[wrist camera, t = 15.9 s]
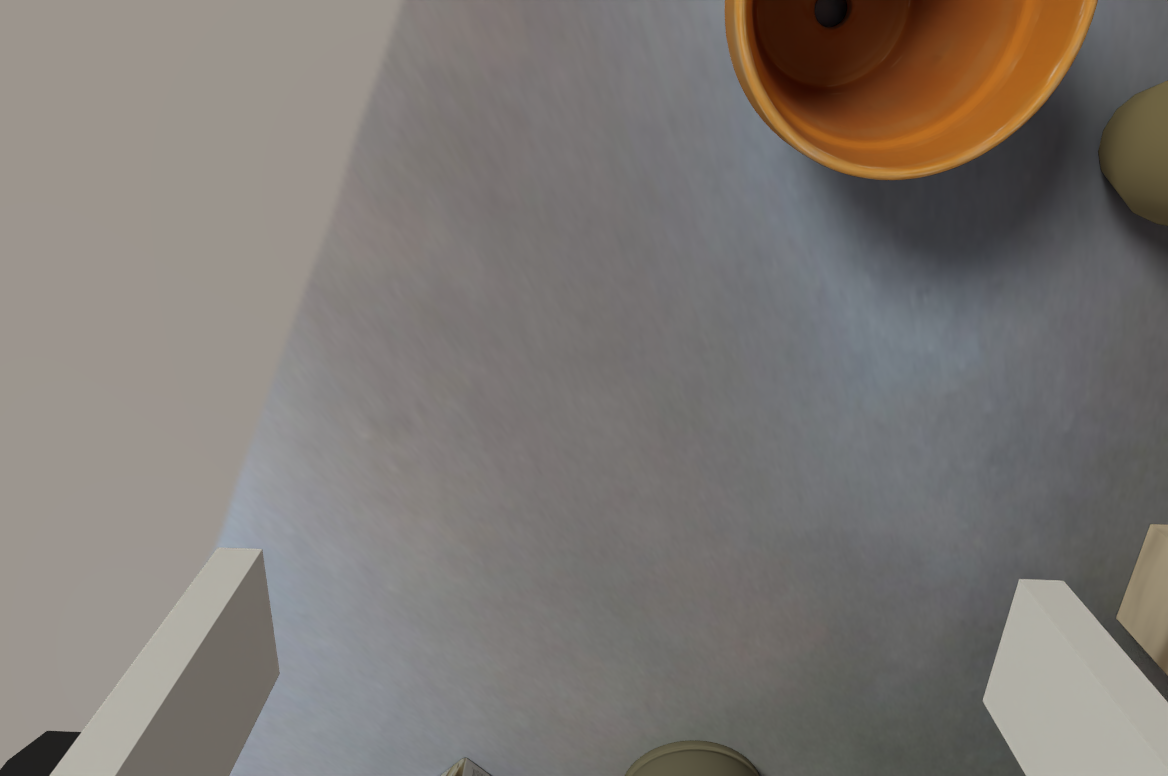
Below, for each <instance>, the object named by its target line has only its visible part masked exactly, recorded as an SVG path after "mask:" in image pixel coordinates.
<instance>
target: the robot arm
mask: <svg viewBox="0 0 1168 776" xmlns="http://www.w3.org/2000/svg"><path fill="white" fill-rule="evenodd" d="M279 674H280V672H279V665H278V658H277V651H276V644H275V637H274V630H273V623H272V615H271V608H270V601H269V594H268V587H267V580H266V573H265V566H264V559H263V552H262V549H242V548H217V549H216V551H215V552H214V553H213V555H212V556H211V558H210V559H209V560H208V562H207V563H206V564H205V566H204V567H203V568H202V570H201V571H200V572H199V574H198V575H197V576H196V578H195V579H194V581H193V582H192V583H191V585H190V586H189V587H188V589H187V590H186V591H185V593H184V594H183V595H182V597H181V598H180V600H179V601H178V603H177V604H176V605H175V606H174V608H173V609H172V610H171V612H170V613H169V614H168V616H167V617H166V618H165V620H164V621H163V623H162V624H161V625H160V627H159V628H158V629H157V631H156V632H155V633H154V635H153V636H152V637H151V639H150V640H149V641H148V643H147V644H146V646H145V647H144V648H143V650H142V651H141V652H140V654H139V655H138V657H137V658H136V659H135V660H134V662H133V663H132V665H131V666H130V667H129V669H128V670H127V671H126V673H125V674H124V676H123V677H122V678H121V679H120V681H119V682H118V683H117V685H116V686H115V688H114V689H113V690H112V692H111V693H110V694H109V696H108V697H107V698H106V700H105V701H104V703H103V704H102V705H101V707H100V708H99V709H98V711H97V712H96V713H95V715H94V716H93V717H92V719H91V720H90V721H89V723H88V724H87V726H86V727H85V728H84V730H83V731H82V732H62V731H46V732H45V733H44V734H42V735H41V736H40V737H38V738H37V739H36V740H34V741H33V742H32V743H30V744H29V745H28V746H26V747H25V748H24V749H22V750H21V751H20V752H18V753H17V754H16V755H14V756H13V757H12V758H10V759H9V760H8V761H7V762H6V763H5V765H4V766H3V767H2V768H1V770H0V776H229V775H230V773H231V771H232V769H233V767H234V765H235V763H236V761H237V759H238V757H239V755H240V753H241V751H242V749H243V746H244V744H245V742H246V740H247V738H248V736H249V734H250V732H251V730H252V728H253V726H254V724H255V722H256V720H257V718H258V716H259V714H260V712H261V710H262V708H263V706H264V704H265V702H266V700H267V698H268V696H269V694H270V692H271V690H272V688H273V686H274V684H275V682H276V680H277V678H278V676H279ZM983 702H984V704H985V706H986V708H987V709H988V711H989V713H990V714H991V716H992V718H993V720H994V721H995V723H996V725H997V726H998V728H999V730H1000V732H1001V733H1002V735H1003V737H1004V738H1005V740H1006V742H1007V744H1008V745H1009V747H1010V749H1011V751H1012V752H1013V754H1014V756H1015V757H1016V759H1017V761H1018V763H1019V764H1020V766H1021V768H1022V769H1023V771H1024V773H1025V775H1026V776H1168V702H1167V701H1166V700H1165V699H1164V697H1163V696H1162V695H1161V694H1160V693H1159V692H1158V690H1157V689H1156V688H1155V687H1154V686H1153V685H1152V683H1151V682H1150V681H1149V680H1148V679H1147V678H1146V676H1145V675H1144V674H1143V673H1142V672H1141V671H1140V669H1139V668H1138V667H1137V666H1136V665H1135V664H1134V662H1133V661H1132V660H1131V659H1130V658H1129V657H1128V655H1127V654H1126V653H1125V652H1124V651H1123V650H1122V649H1121V647H1120V646H1119V645H1118V644H1117V643H1116V642H1115V640H1114V639H1113V638H1112V637H1111V636H1110V635H1109V633H1108V632H1107V631H1106V630H1105V629H1104V628H1103V626H1102V625H1101V624H1100V623H1099V622H1098V621H1097V619H1096V618H1095V617H1094V616H1093V615H1092V614H1091V612H1090V611H1089V610H1088V609H1087V608H1086V607H1085V605H1084V604H1083V603H1082V602H1081V601H1080V600H1079V598H1078V597H1077V596H1076V595H1075V594H1074V593H1073V591H1072V590H1071V589H1070V588H1069V587H1068V586H1067V584H1066V583H1065V582H1064V581H1055V580H1030V579H1019V582H1018V585H1017V589H1016V592H1015V595H1014V598H1013V602H1012V605H1011V608H1010V612H1009V615H1008V618H1007V622H1006V625H1005V628H1004V632H1003V635H1002V638H1001V641H1000V645H999V648H998V651H997V655H996V658H995V661H994V665H993V668H992V671H991V675H990V678H989V681H988V685H987V688H986V691H985V694H984V698H983Z"/></svg>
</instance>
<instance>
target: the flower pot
mask: <svg viewBox="0 0 1168 776" xmlns="http://www.w3.org/2000/svg"><path fill="white" fill-rule="evenodd" d="M816 1H817V0H725V26H726V37H727V42H728V48H729V53H730V57H731V61H732V64H733V67H734V70H735V73H736V75H737V78H738V80H739V83H740V85H741V87H742V89H743V91H744V93H745V95H746V97H747V98H748V100H749V102H750V103H751V105H752V106H753V108H754V109H755V111H756V112H757V113H758V115H759V116H760V117H761V118H762V120H763V121H764V122H765V123H766V124H767V125H768V126H769V127H770V129H771V130H772V131H773V132H775V133H776V134H777V135H778V136H779V137H780V138H781V139H782V140H784V141H785V142H786V143H788V144H789V145H790V146H792V147H793V148H795V149H796V150H797V151H799V152H800V153H802V154H804V155H805V156H807V157H809V158H810V159H812V160H814V161H816V162H817V163H819V164H821V165H823V166H825V167H828V168H830V169H832V170H835V171H838V172H841V173H844V174H848V175H851V176H856V177H861V178H867V179H876V180H904V179H914V178H920V177H925V176H930V175H934V174H937V173H941V172H944V171H947V170H950V169H953V168H956V167H958V166H960V165H963V164H965V163H967V162H969V161H971V160H973V159H975V158H977V157H979V156H981V155H982V154H984V153H986V152H988V151H989V150H991V149H992V148H994V147H995V146H997V145H998V144H1000V143H1001V142H1003V141H1004V140H1006V139H1007V138H1008V137H1009V136H1011V135H1012V134H1013V133H1014V132H1016V131H1017V130H1018V129H1019V128H1021V127H1022V126H1023V125H1024V124H1025V123H1026V122H1027V121H1028V120H1029V119H1030V118H1031V117H1032V116H1033V115H1034V114H1035V113H1036V112H1037V111H1038V110H1039V109H1040V108H1041V106H1042V105H1043V104H1044V103H1045V102H1046V101H1047V100H1048V98H1049V97H1050V96H1051V94H1052V93H1053V92H1054V90H1055V89H1056V88H1057V86H1058V85H1059V84H1060V82H1061V81H1062V79H1063V78H1064V76H1065V74H1066V73H1067V71H1068V70H1069V68H1070V67H1071V65H1072V63H1073V61H1074V59H1075V57H1076V56H1077V54H1078V52H1079V50H1080V48H1081V46H1082V44H1083V41H1084V39H1085V37H1086V34H1087V32H1088V29H1089V27H1090V24H1091V22H1092V19H1093V15H1094V12H1095V9H1096V6H1097V2H1098V0H846V1H847V12H846V16H845V17H844V19H843V20H842V21H841V22H840V23H839V24H838V25H836V26H833V27H824V26H822V25H821V24H820V23H819V22H818V21H817V19H816V16H815V4H816Z"/></svg>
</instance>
